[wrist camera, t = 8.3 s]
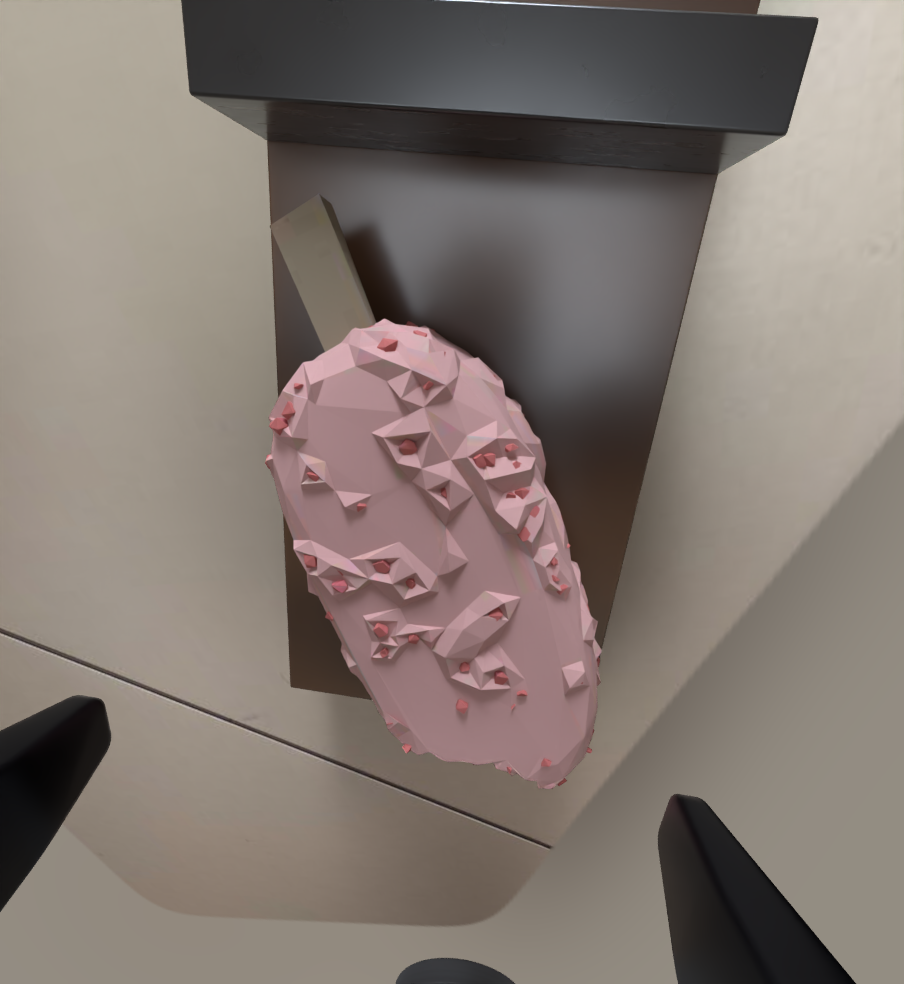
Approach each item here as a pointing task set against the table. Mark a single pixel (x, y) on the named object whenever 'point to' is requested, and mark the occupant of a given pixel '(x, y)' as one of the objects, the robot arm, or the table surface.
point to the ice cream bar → (430, 529)
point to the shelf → (508, 205)
